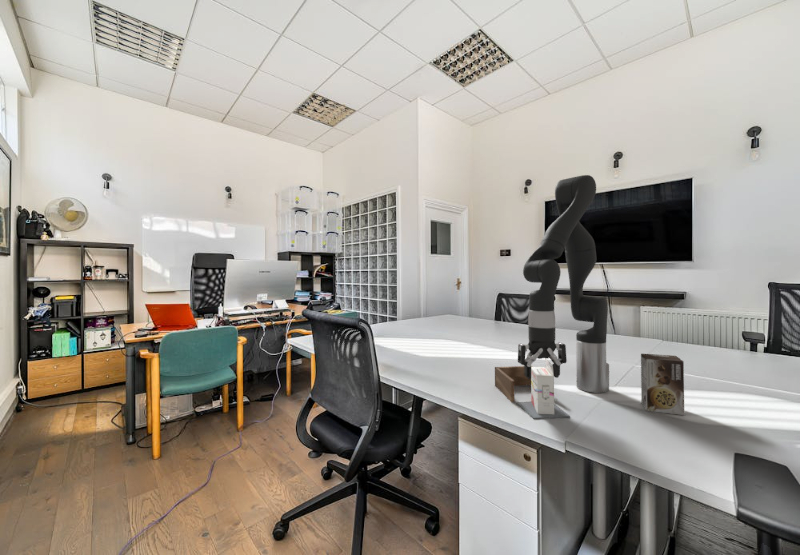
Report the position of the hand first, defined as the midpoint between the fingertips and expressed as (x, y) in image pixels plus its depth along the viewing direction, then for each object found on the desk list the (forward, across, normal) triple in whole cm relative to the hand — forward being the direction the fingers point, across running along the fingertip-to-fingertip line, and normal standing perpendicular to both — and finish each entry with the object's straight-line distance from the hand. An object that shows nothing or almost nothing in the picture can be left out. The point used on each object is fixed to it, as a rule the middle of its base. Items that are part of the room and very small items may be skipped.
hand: (542, 377), depth 98 cm
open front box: (+10, 0, -14) cm, 17 cm away
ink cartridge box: (+10, 0, 0) cm, 10 cm away
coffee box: (+10, -36, +3) cm, 38 cm away
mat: (+10, 0, 0) cm, 10 cm away
